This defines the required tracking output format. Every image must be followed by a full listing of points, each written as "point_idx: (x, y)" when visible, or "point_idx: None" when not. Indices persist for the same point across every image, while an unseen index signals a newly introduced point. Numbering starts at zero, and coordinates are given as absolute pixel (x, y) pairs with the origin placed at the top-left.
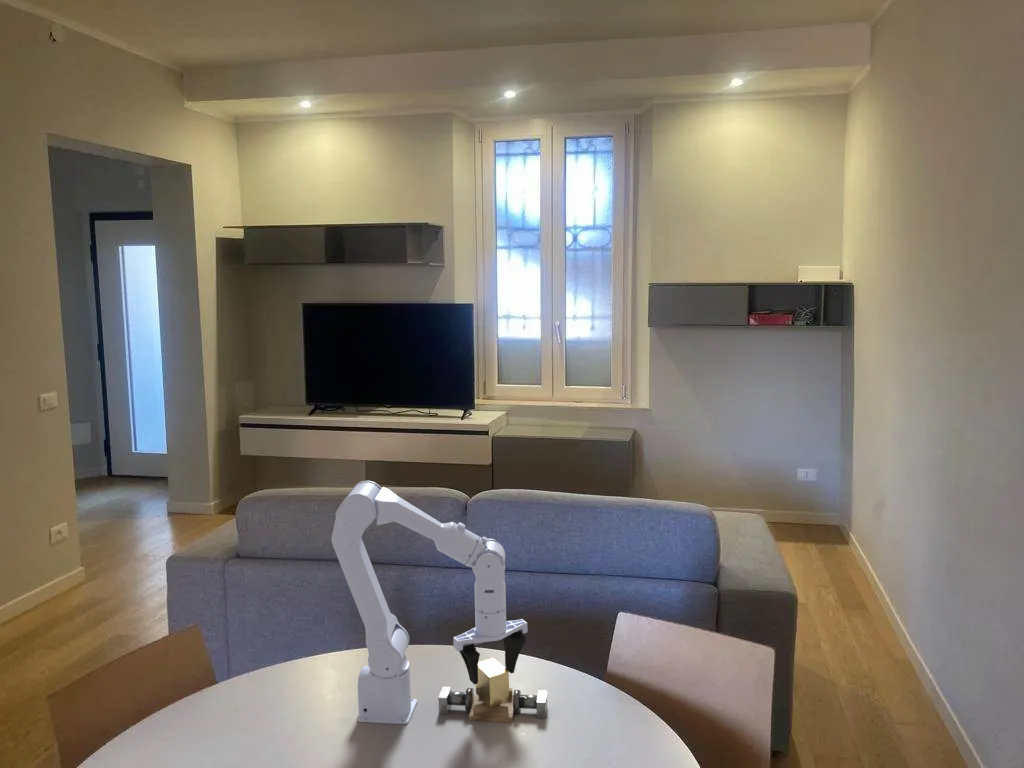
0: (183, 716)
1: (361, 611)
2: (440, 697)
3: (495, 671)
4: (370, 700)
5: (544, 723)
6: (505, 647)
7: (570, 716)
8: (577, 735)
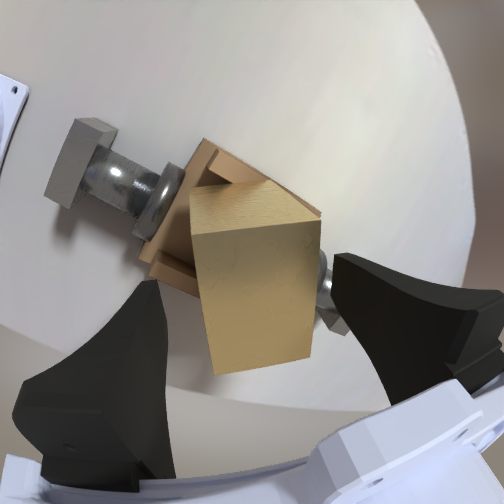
0: None
1: None
2: (50, 195)
3: (260, 345)
4: None
5: (314, 319)
6: (398, 302)
7: None
8: (339, 363)
